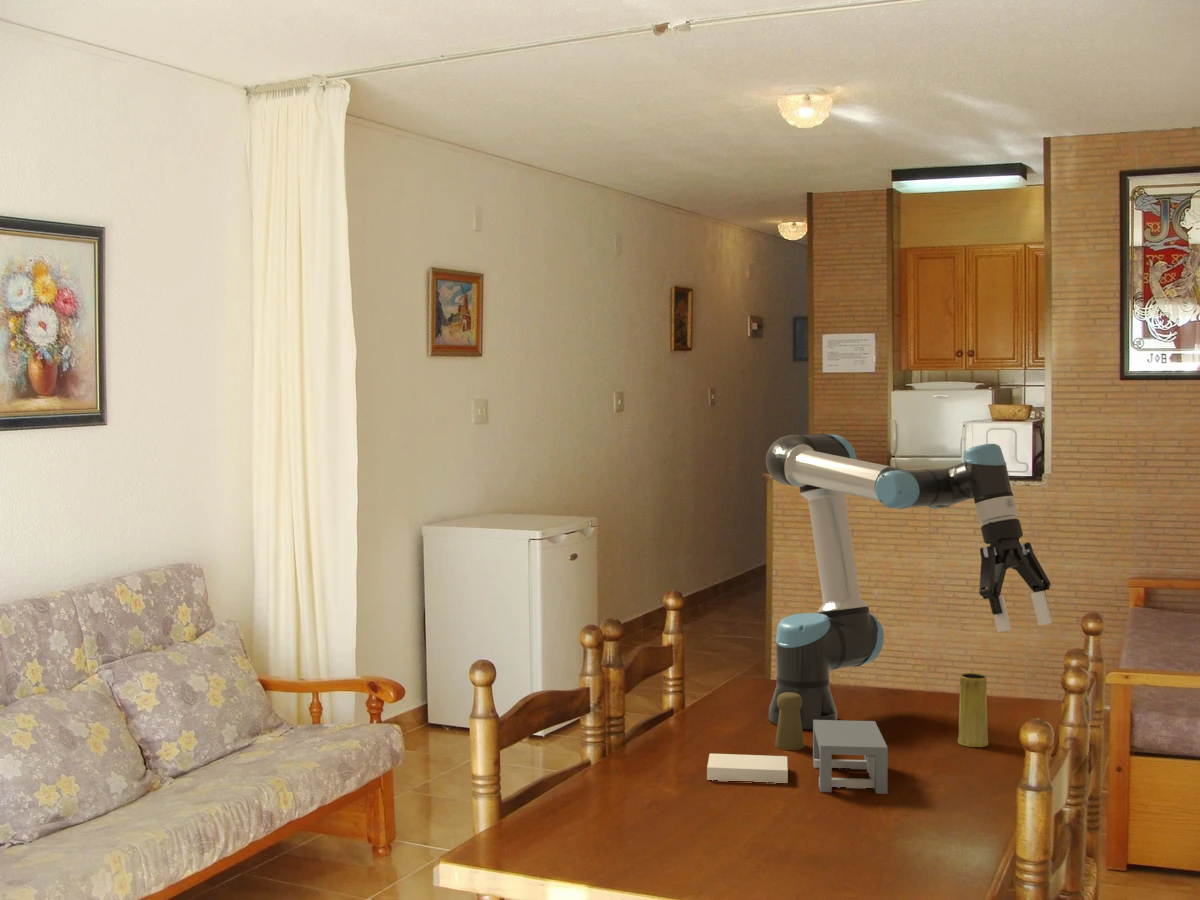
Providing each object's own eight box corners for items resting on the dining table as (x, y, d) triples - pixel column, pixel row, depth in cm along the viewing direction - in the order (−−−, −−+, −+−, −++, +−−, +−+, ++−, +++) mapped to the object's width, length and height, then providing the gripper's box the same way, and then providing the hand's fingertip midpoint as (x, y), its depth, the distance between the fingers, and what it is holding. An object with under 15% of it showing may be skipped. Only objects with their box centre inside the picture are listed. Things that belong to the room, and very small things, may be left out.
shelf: (813, 762, 234) (813, 719, 233) (874, 763, 233) (875, 721, 232) (820, 791, 216) (820, 745, 216) (887, 793, 215) (887, 747, 214)
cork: (803, 742, 248) (803, 690, 247) (805, 750, 242) (805, 697, 241) (774, 741, 248) (774, 689, 248) (775, 749, 242) (775, 696, 242)
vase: (992, 747, 243) (992, 679, 242) (962, 747, 243) (962, 679, 243) (983, 739, 249) (983, 672, 249) (953, 739, 249) (954, 672, 249)
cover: (709, 768, 232) (709, 753, 232) (787, 771, 230) (787, 756, 229) (707, 783, 223) (707, 767, 223) (787, 786, 221) (787, 770, 221)
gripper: (976, 519, 224) (1003, 630, 220) (1051, 514, 239) (1078, 618, 235) (945, 528, 230) (970, 637, 225) (1020, 522, 245) (1045, 624, 240)
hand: (1025, 628), depth 230 cm, fingers open, 13 cm apart
